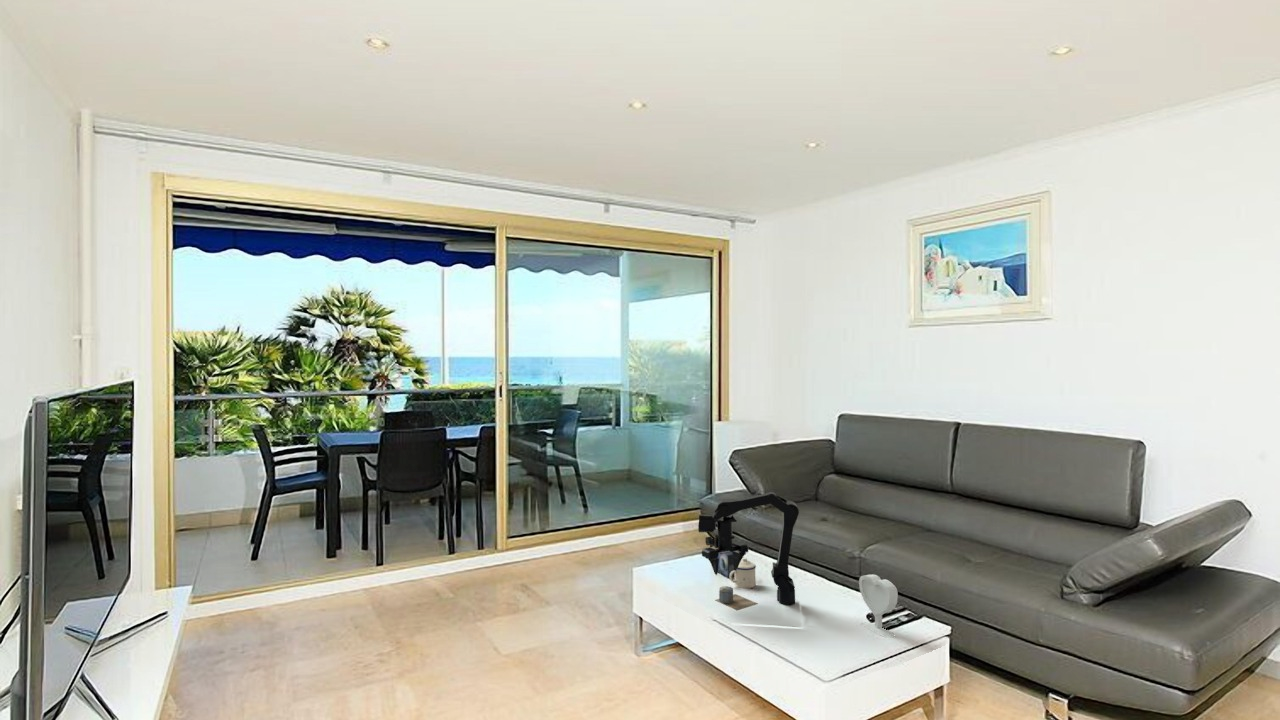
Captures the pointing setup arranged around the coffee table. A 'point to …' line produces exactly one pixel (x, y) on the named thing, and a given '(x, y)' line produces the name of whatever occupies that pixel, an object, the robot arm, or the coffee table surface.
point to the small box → (726, 564)
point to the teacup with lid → (744, 574)
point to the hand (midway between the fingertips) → (725, 572)
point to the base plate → (739, 602)
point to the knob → (726, 594)
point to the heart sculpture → (878, 600)
